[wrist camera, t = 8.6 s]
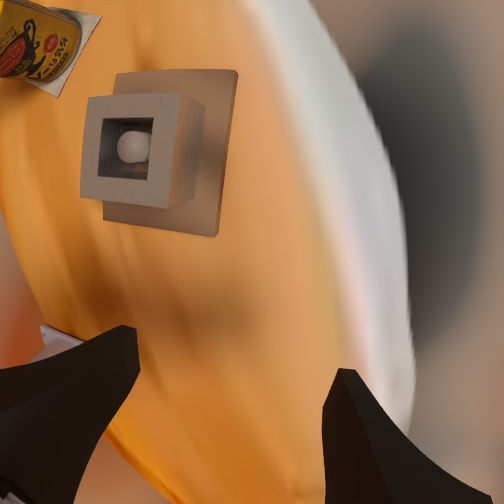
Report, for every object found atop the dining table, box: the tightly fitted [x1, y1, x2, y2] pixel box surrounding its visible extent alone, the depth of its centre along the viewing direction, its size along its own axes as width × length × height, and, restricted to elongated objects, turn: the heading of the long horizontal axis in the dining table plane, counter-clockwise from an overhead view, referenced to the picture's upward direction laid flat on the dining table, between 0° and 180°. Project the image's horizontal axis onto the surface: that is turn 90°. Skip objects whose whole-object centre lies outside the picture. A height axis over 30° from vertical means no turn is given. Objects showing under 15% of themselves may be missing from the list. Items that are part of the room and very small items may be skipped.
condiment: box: [0, 0, 101, 98], centre depth 10 cm, size 7×8×12 cm
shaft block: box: [103, 69, 238, 237], centre depth 15 cm, size 10×8×4 cm
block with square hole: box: [80, 93, 206, 209], centre depth 15 cm, size 5×5×4 cm
